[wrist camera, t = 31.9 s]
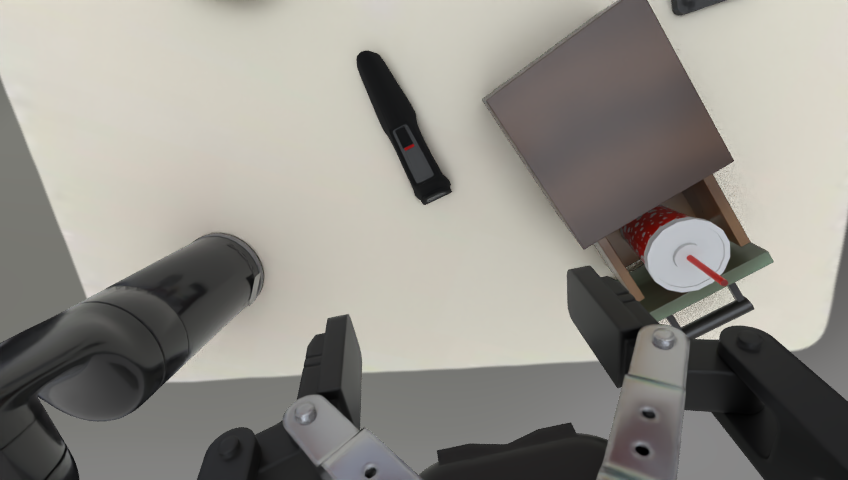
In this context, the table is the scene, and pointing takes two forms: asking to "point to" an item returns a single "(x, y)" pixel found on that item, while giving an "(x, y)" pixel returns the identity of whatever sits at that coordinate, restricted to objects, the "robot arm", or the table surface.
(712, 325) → the drawer
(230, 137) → the table surface
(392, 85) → the electric trimmer
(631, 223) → the beverage cup
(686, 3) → the smartphone
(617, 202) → the cabinet
